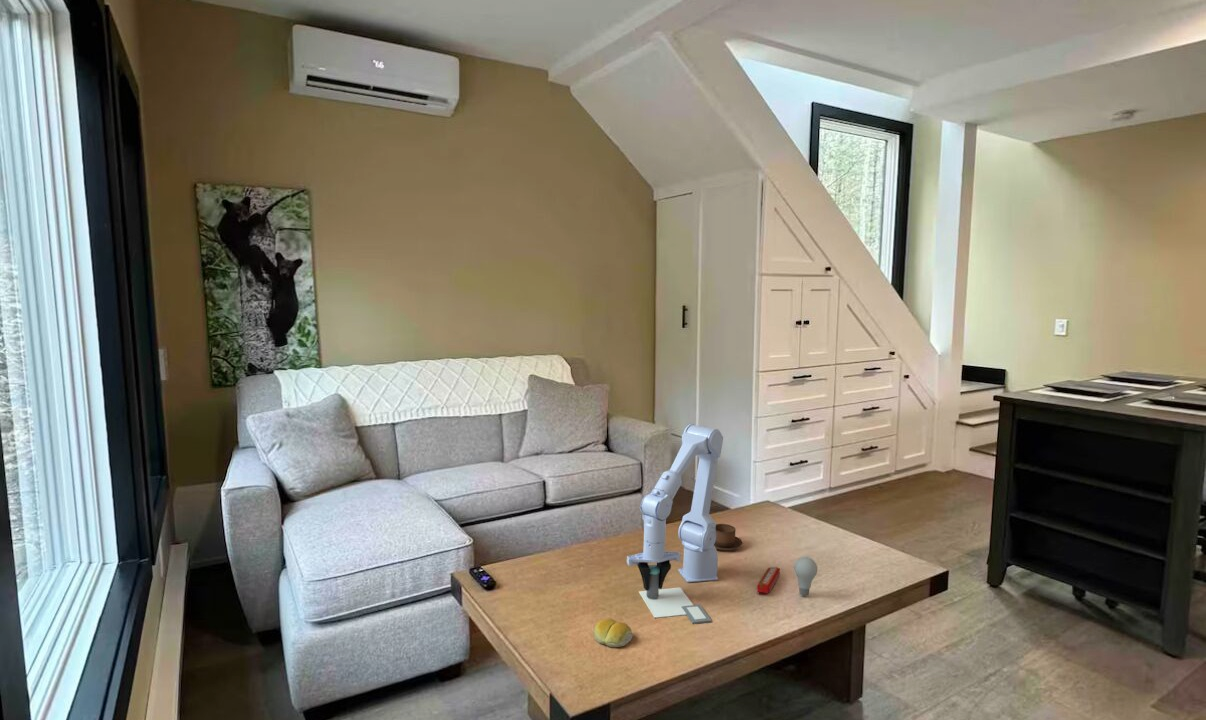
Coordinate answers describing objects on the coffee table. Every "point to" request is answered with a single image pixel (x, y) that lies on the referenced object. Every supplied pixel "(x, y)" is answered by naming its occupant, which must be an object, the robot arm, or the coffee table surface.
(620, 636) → the bread roll
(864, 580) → the coffee table surface
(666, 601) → the paper
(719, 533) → the cup and saucer
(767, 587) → the candy bar
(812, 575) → the lightbulb
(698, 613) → the picture frame
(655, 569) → the grey teal-capped tube
